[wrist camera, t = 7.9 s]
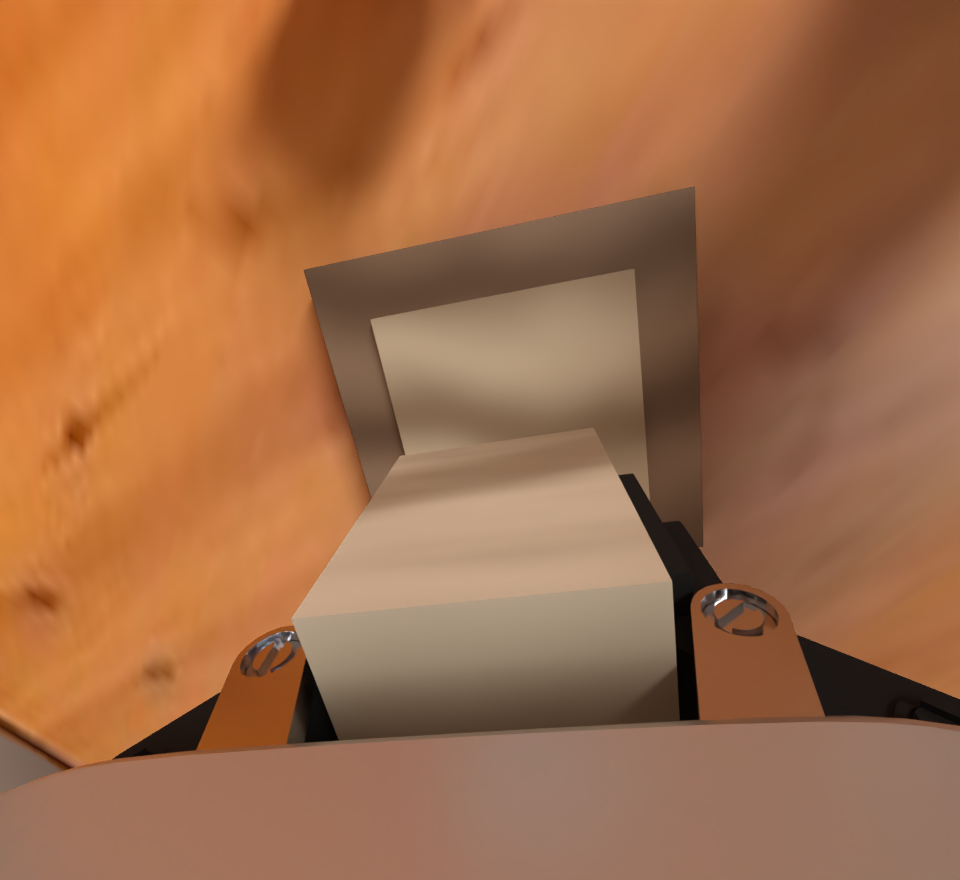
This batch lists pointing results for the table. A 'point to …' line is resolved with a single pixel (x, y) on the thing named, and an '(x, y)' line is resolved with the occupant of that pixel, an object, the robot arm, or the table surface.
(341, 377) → the base
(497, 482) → the oak block
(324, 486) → the table surface
